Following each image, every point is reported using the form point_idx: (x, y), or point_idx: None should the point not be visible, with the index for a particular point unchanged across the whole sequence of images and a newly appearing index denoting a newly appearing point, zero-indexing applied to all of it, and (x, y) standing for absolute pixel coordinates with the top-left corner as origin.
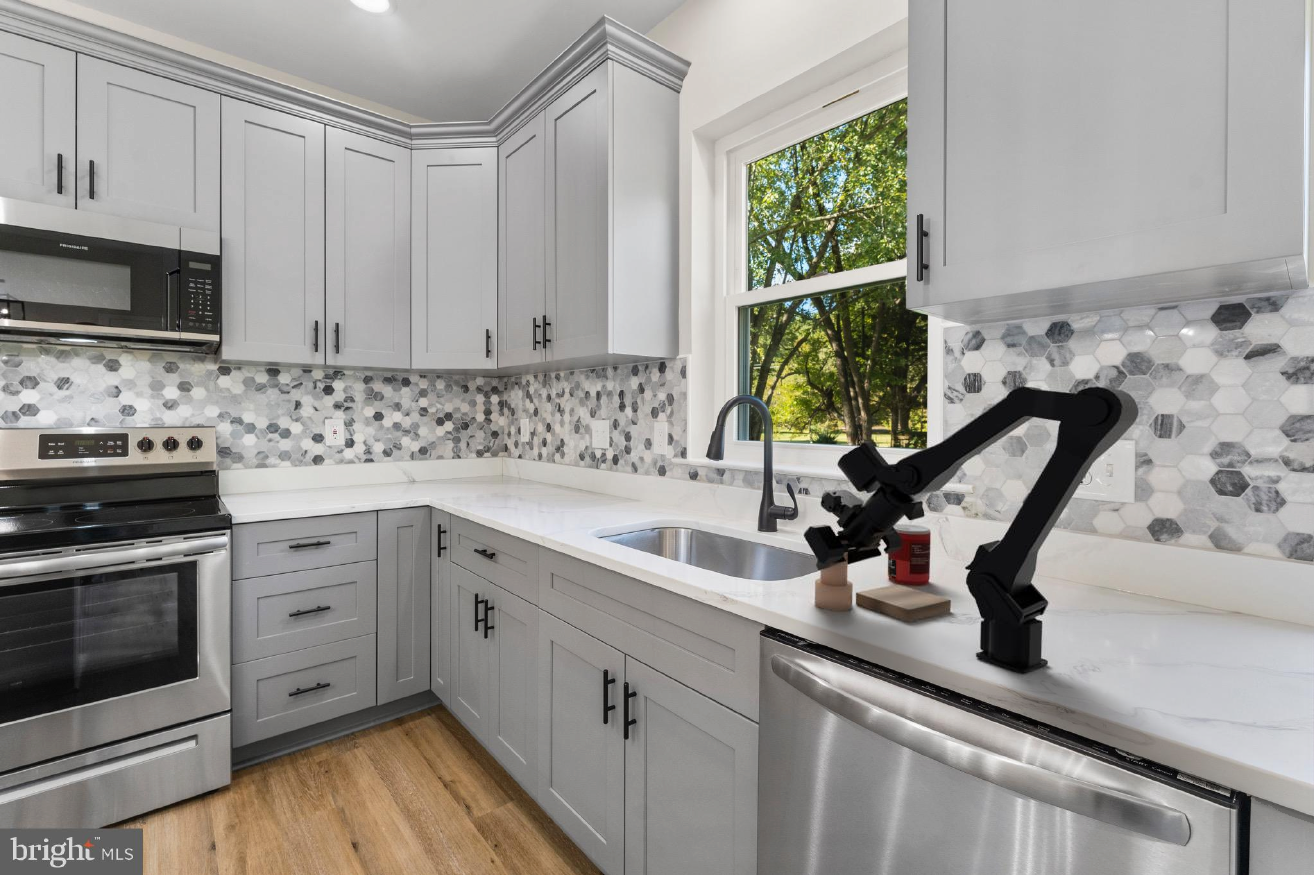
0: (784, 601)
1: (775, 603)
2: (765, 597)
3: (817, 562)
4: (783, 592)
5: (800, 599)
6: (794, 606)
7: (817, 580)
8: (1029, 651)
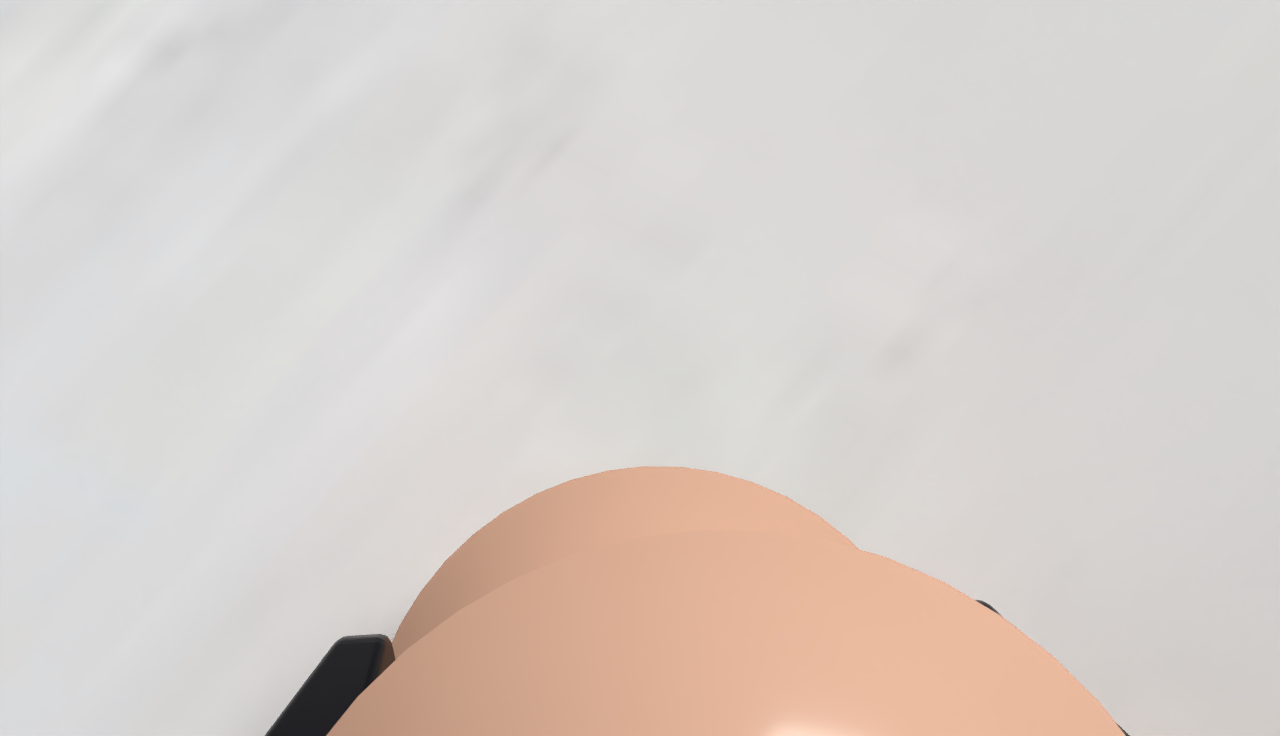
0: (216, 341)
1: (67, 356)
2: (127, 125)
3: (278, 732)
4: (451, 64)
5: (441, 363)
6: (183, 546)
7: (508, 546)
8: None
